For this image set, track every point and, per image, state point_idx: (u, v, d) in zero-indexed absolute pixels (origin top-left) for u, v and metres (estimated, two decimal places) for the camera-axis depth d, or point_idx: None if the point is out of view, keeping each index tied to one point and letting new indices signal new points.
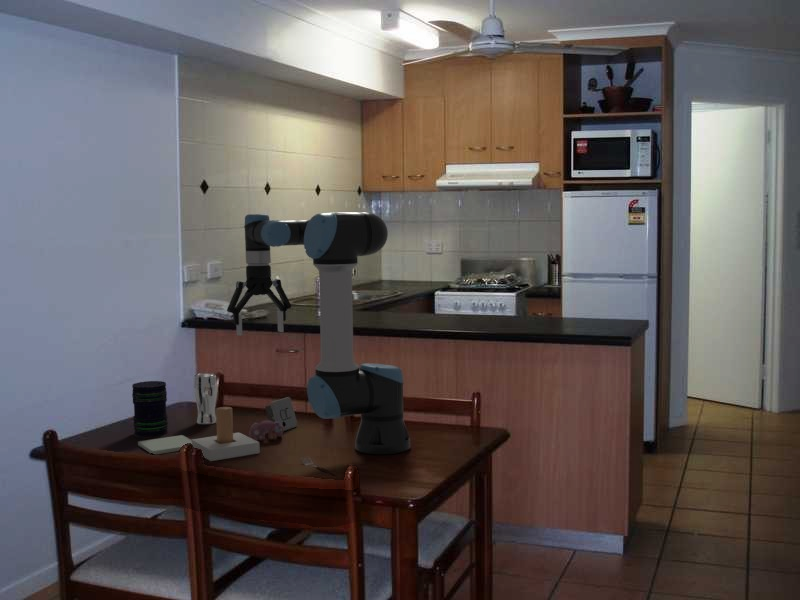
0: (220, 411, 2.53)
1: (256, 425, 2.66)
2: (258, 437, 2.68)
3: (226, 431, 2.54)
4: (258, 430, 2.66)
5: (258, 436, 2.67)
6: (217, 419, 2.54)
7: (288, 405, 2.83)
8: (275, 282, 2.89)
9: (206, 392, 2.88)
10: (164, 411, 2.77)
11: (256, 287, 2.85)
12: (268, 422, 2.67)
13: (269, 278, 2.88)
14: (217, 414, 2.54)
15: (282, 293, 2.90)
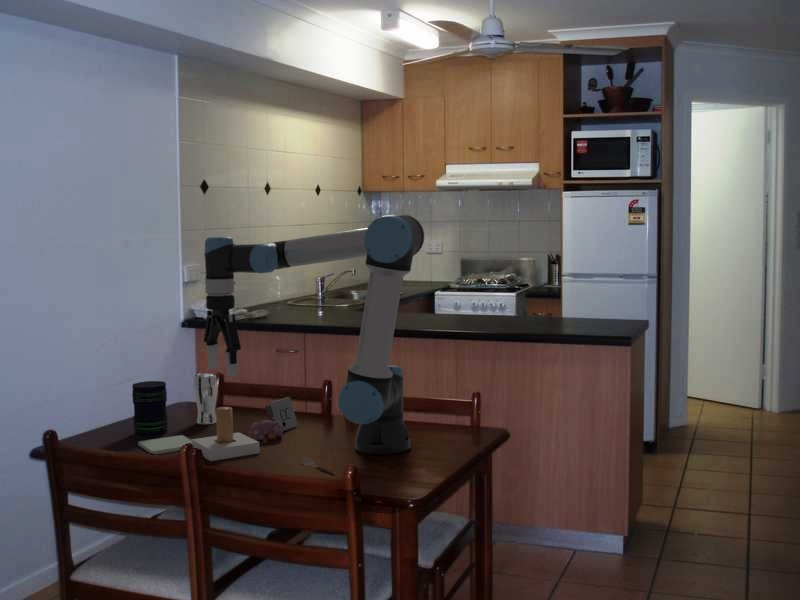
0: (220, 411, 2.53)
1: (256, 425, 2.66)
2: (258, 437, 2.68)
3: (227, 431, 2.54)
4: (258, 430, 2.67)
5: (258, 436, 2.68)
6: (217, 419, 2.54)
7: (288, 405, 2.83)
8: None
9: (206, 392, 2.88)
10: (164, 411, 2.77)
11: (211, 319, 2.53)
12: (268, 422, 2.67)
13: (221, 311, 2.49)
14: (217, 414, 2.54)
15: (227, 331, 2.46)
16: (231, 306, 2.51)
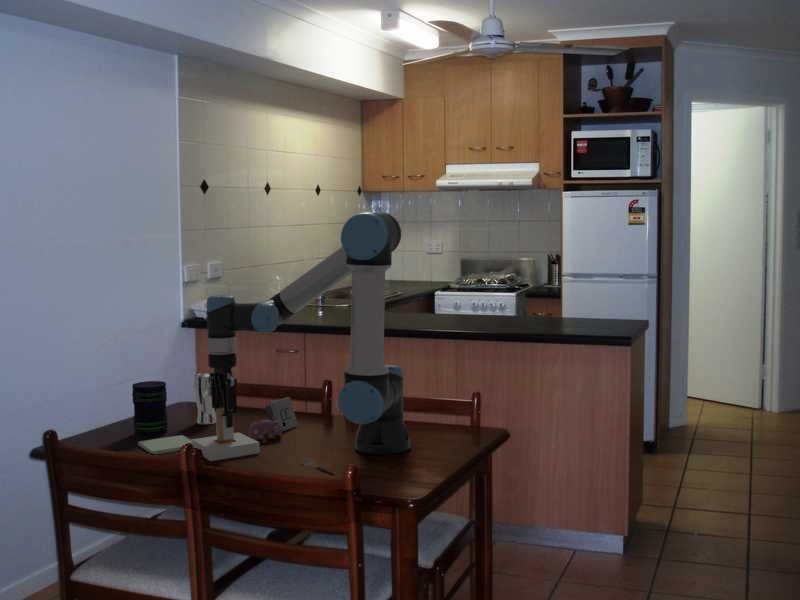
0: (220, 411, 2.53)
1: (255, 424, 2.67)
2: (257, 436, 2.69)
3: None
4: (257, 429, 2.67)
5: (257, 435, 2.68)
6: (217, 419, 2.54)
7: (288, 405, 2.83)
8: None
9: (206, 392, 2.88)
10: (164, 411, 2.77)
11: (214, 377, 2.55)
12: (267, 421, 2.68)
13: (223, 370, 2.51)
14: (217, 414, 2.54)
15: (226, 395, 2.50)
16: (233, 364, 2.52)
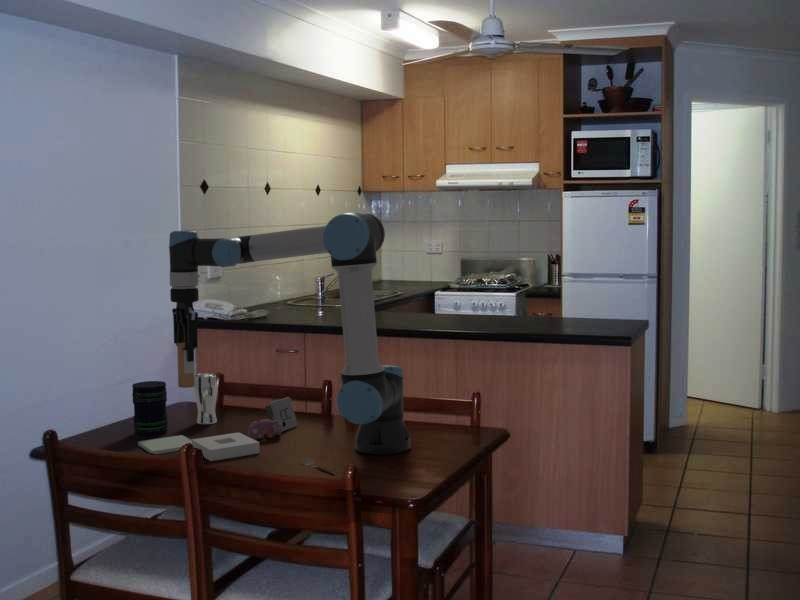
0: (181, 345, 2.55)
1: (255, 424, 2.68)
2: (257, 436, 2.69)
3: None
4: (257, 429, 2.68)
5: (257, 435, 2.69)
6: (178, 353, 2.56)
7: (288, 405, 2.83)
8: None
9: (206, 392, 2.88)
10: (164, 411, 2.77)
11: (175, 311, 2.57)
12: (267, 421, 2.69)
13: (185, 304, 2.53)
14: (178, 348, 2.56)
15: (187, 328, 2.52)
16: (195, 299, 2.54)
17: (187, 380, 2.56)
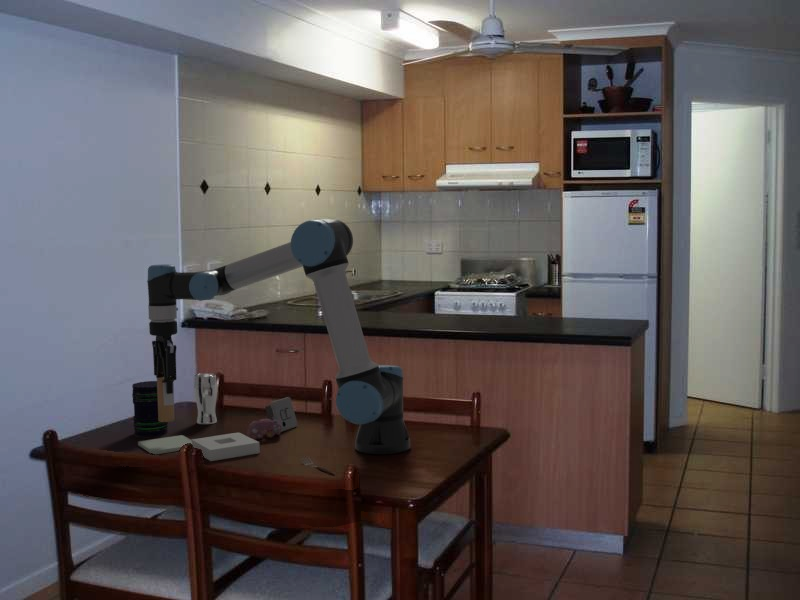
0: (161, 380, 2.59)
1: (255, 423, 2.68)
2: (256, 435, 2.70)
3: None
4: (256, 428, 2.68)
5: (256, 434, 2.70)
6: (158, 388, 2.60)
7: (288, 405, 2.83)
8: None
9: (206, 392, 2.88)
10: None
11: (155, 344, 2.60)
12: (266, 420, 2.69)
13: (163, 337, 2.57)
14: (158, 383, 2.60)
15: (166, 361, 2.56)
16: (173, 332, 2.58)
17: (166, 415, 2.60)
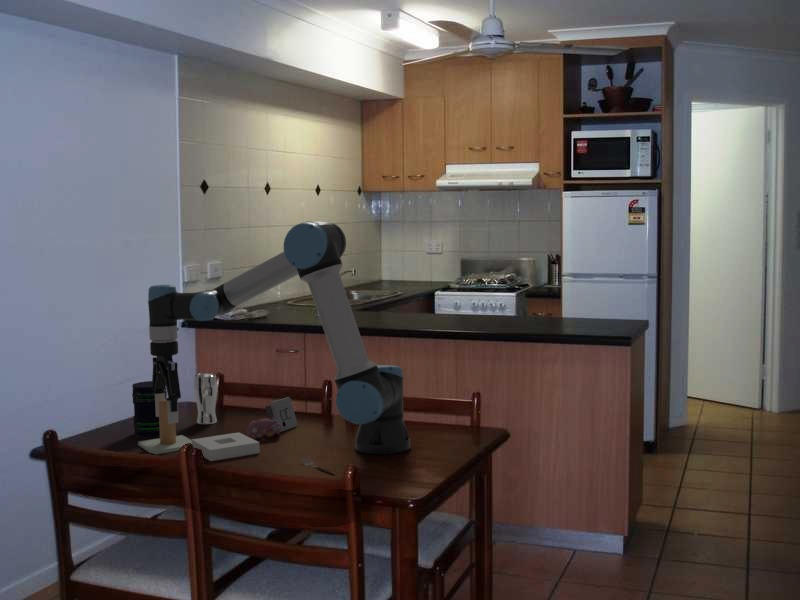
0: (162, 403, 2.60)
1: (254, 423, 2.69)
2: (256, 435, 2.70)
3: None
4: (256, 428, 2.69)
5: (256, 434, 2.70)
6: (159, 411, 2.61)
7: (288, 405, 2.83)
8: None
9: (206, 392, 2.88)
10: None
11: (156, 364, 2.61)
12: (266, 420, 2.70)
13: (164, 357, 2.57)
14: (160, 406, 2.60)
15: (169, 379, 2.55)
16: (174, 352, 2.59)
17: (168, 437, 2.61)
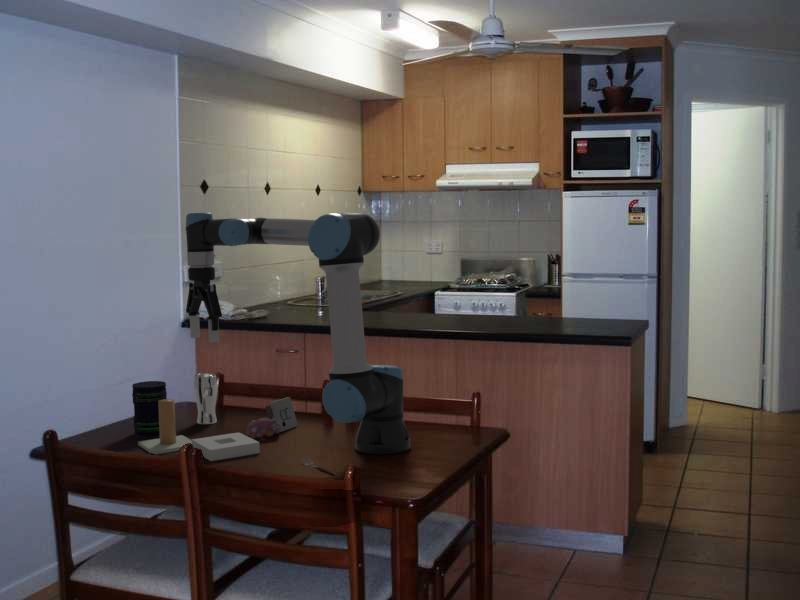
0: (162, 403, 2.60)
1: (254, 423, 2.69)
2: (256, 434, 2.71)
3: (168, 422, 2.60)
4: (256, 427, 2.69)
5: (256, 433, 2.71)
6: (159, 411, 2.61)
7: (288, 405, 2.83)
8: None
9: (206, 392, 2.88)
10: None
11: (193, 290, 2.70)
12: (266, 420, 2.70)
13: (203, 282, 2.66)
14: (159, 406, 2.60)
15: (209, 300, 2.63)
16: (212, 277, 2.68)
17: (168, 437, 2.61)
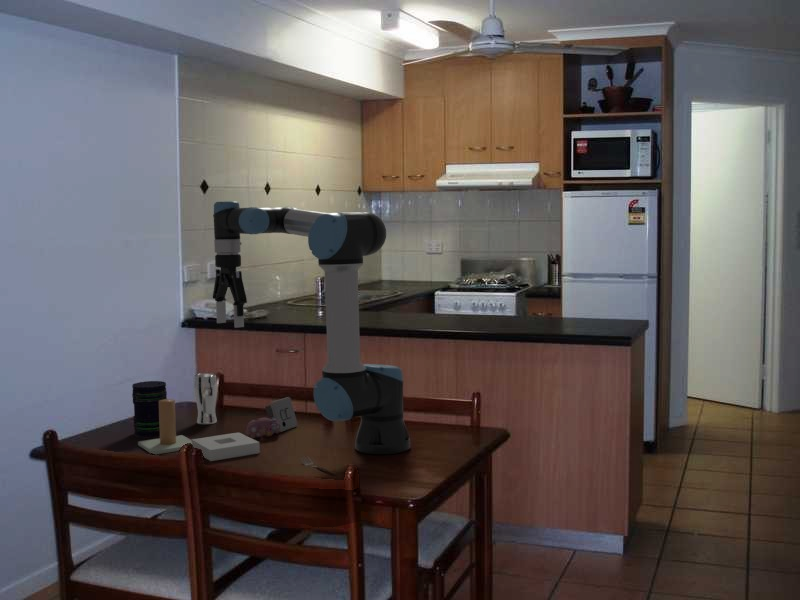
0: (162, 403, 2.60)
1: (254, 422, 2.69)
2: (255, 434, 2.71)
3: (169, 422, 2.60)
4: (255, 427, 2.70)
5: (255, 433, 2.71)
6: (159, 411, 2.60)
7: (288, 405, 2.83)
8: None
9: (206, 392, 2.88)
10: None
11: (220, 276, 2.78)
12: (265, 419, 2.70)
13: (229, 269, 2.74)
14: (159, 406, 2.60)
15: (234, 286, 2.71)
16: (238, 264, 2.75)
17: (168, 437, 2.61)
